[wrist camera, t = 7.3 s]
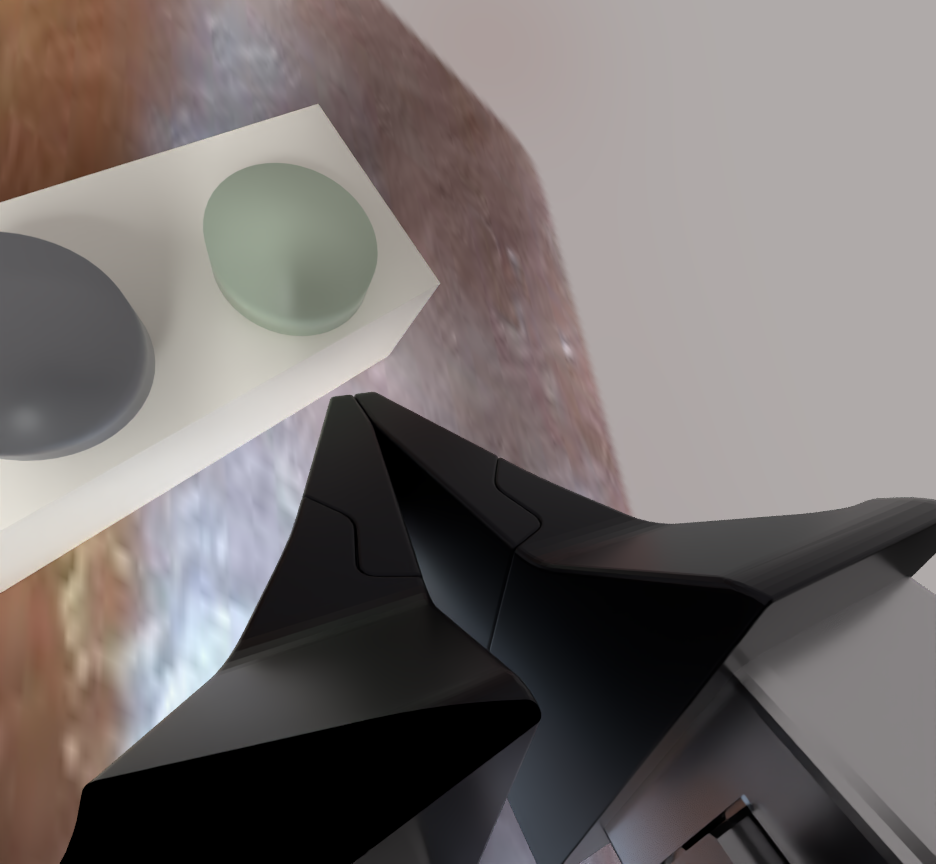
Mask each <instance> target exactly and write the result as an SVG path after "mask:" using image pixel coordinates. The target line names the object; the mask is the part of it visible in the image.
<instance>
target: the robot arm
mask: <svg viewBox="0 0 936 864" xmlns="http://www.w3.org/2000/svg"><path fill="white" fill-rule="evenodd" d="M935 553H936V500H934V499H926V498H914V497H910V498H909V497H904V498H903V497H901V498H877V499H872V500H868V501H865V502H863V503H860V504H857V505H855V506H851V507H848V508H842V509H837V510H830V511H823V512H816V513H806V514H797V515H783V516H771V517H757V518H746V519H732V520H719V521H707V522H693V523H680V524H664V523H655V522H649V521H645V520H641V519H637V518H635V517H632V516H629V515H627V514H624V513H622V512H619V511H617V510H615V509H612V508H610V507H608V506H605V505H603V504H600V503H598V502H596V501H593V500H591V499H589V498H586V497H584V496H582V495H579V494H577V493H574V492H572V491H570V490H567V489H565V488H563V487H560V486H558V485H556V484H554V483H551V482H549V481H547V480H545V479H542V478H540V477H538V476H536V475H534V474H532V473H530V472H528V471H526V470H524V469H522V468H520V467H518V466H516V465H514V464H512V463H510V462H508V461H506V460H504V459H502V458H499V459H498V456H496V455H494V454H493V453H491V452H489V451H487V450H485V449H483V448H481V447H479V446H477V445H475V444H473V443H472V442H470V441H468V440H466V439H464V438H462V437H460V436H458V435H456V434H454V433H452V432H451V431H449V430H447V429H445V428H443V427H441V426H439V425H437V424H435V423H433V422H431V421H429V420H428V419H426V418H424V417H422V416H420V415H418V414H416V413H414V412H412V411H410V410H408V409H407V408H405V407H403V406H401V405H399V404H397V403H395V402H393V401H391V400H389V399H387V398H386V397H384V396H382V395H380V394H378V393H376V392H368V393H360V394H356V395H354V397H353V396H352V395H344V396H335V397H332V398H331V399H330V402H329V405H328V409H327V412H326V416H325V420H324V423H323V427H322V430H321V434H320V437H319V441H318V444H317V448H316V451H315V455H314V458H313V462H312V465H311V469H310V472H309V476H308V479H307V483H306V486H305V490H304V493H303V497H302V500H301V503H300V506H299V510H298V513H297V516H296V519H295V522H294V525H293V528H292V531H291V534H290V537H289V539H288V541H287V543H286V546H285V548H284V550H283V552H282V555H281V557H280V559H279V561H278V563H277V565H276V567H275V570H274V572H273V574H272V576H271V578H270V580H269V582H268V584H267V586H266V588H265V590H264V592H263V594H262V596H261V598H260V600H259V602H258V604H257V606H256V608H255V610H254V612H253V614H252V616H251V618H250V620H249V622H248V624H247V626H246V628H245V630H244V632H243V634H242V636H241V638H240V639H239V641H238V643H237V645H236V647H235V648H234V650H233V652H232V653H231V655H230V656H229V658H228V659H227V661H226V662H225V663H224V665H223V666H222V667H221V668H220V669H219V671H218V672H217V673H216V674H215V675H214V676H213V677H212V678H211V679H210V680H209V681H208V682H206V683H205V684H204V685H203V686H202V687H201V688H199V689H198V690H197V691H196V692H195V693H194V694H192V695H191V696H190V697H189V698H188V699H187V700H185V701H184V702H183V703H182V704H181V705H180V706H178V707H177V708H176V709H175V710H174V711H173V712H171V713H170V714H169V715H168V716H167V717H166V718H164V719H163V720H162V721H161V722H160V723H159V724H157V725H156V726H155V727H154V728H153V729H152V730H150V731H149V732H148V733H147V734H146V735H145V736H143V737H142V738H141V739H140V740H139V741H138V742H137V743H135V744H134V745H133V746H132V747H131V748H130V749H128V750H127V751H126V752H125V753H124V754H123V755H121V756H120V757H119V758H118V759H117V760H116V761H114V762H113V763H112V764H111V765H110V766H109V767H107V768H106V769H105V770H104V771H103V772H102V773H100V774H99V775H98V776H97V777H96V778H94V779H93V780H92V781H91V782H89V783H88V784H87V785H86V786H85V787H84V788H83V790H82V795H81V800H80V806H79V811H78V817H77V821H76V825H75V828H74V832H73V835H72V837H71V840H70V842H69V845H68V848H67V850H66V853H65V855H64V856H63V858H62V860H61V862H60V864H478V863H479V861H480V859H481V856H482V854H483V852H484V849H485V847H486V845H487V842H488V840H489V838H490V835H491V833H492V831H493V828H494V826H495V824H496V822H497V819H498V817H499V815H500V812H501V810H502V808H503V805H504V803H505V801H506V798H507V799H508V801H509V803H510V806H511V808H512V810H513V812H514V814H515V817H516V819H517V821H518V823H519V825H520V828H521V830H522V832H523V834H524V836H525V839H526V841H527V843H528V845H529V848H530V850H531V852H532V854H533V856H534V859H535V861H536V863H537V864H579V863H580V862H582V861H583V860H585V859H586V858H588V857H589V856H591V855H592V854H594V853H595V852H597V851H598V850H600V849H601V848H603V847H604V846H606V845H607V844H609V843H611V845H612V847H613V849H614V850H615V852H616V854H617V856H618V858H619V860H620V862H621V864H936V595H935V594H934V593H932V592H931V591H930V590H928V589H927V588H925V587H924V586H922V585H921V584H920V583H918V582H917V581H915V580H914V579H912V578H911V577H912V576H913V575H914V574H915V573H916V572H917V571H918V570H919V569H920V568H921V567H922V566H923V565H924V564H925V563H926V562H927V561H928V560H929V559H930V558H931V557H932V556H933V555H934V554H935Z"/></svg>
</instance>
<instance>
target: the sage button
mask: <svg viewBox="0 0 936 864" xmlns="http://www.w3.org/2000/svg"><path fill="white" fill-rule="evenodd" d="M203 233H204V240H205V244H206V248H207V252H208V256H209V260H210V264H211V267H212V271H213V274H214V278H215V280H216V283H217V285H218V287H219V289H220V291H221V292H222V294H223V295H224V297H225V298H226V299H227V301H228V302H229V303H230V304H231V305H232V306H233V307H234V308H235V309H236V310H237V311H238V312H239V313H240V314H241V315H243V316H244V317H245V318H247V319H248V320H250V321H251V322H253V323H255V324H257V325H258V326H260V327H263V328H265V329H267V330H270V331H273V332H277V333H280V334H285V335H292V336H311V335H317V334H322V333H325V332H328V331H331V330H333V329H335V328H337V327H339V326H341V325H342V324H344V323H345V322H346V321H348V320H349V319H350V318H351V317H352V316H353V315H354V314H355V313H356V311H357V310H358V309H359V307H360V305H361V304H362V302H363V299H364V297H365V295H366V292H367V290H368V287H369V285H370V282H371V280H372V278H373V275H374V273H375V269H376V265H377V257H378V251H377V241H376V236H375V233H374V230H373V227H372V224H371V222H370V220H369V218H368V216H367V215H366V213H365V211H364V210H363V208H362V207H361V206H360V204H359V203H358V202H357V200H356V199H355V198H354V197H353V196H352V195H351V194H350V193H349V192H348V191H346V190H345V189H344V188H343V187H342V186H341V185H339V184H338V183H336V182H335V181H333V180H332V179H330V178H328V177H326V176H325V175H323V174H321V173H318V172H316V171H314V170H311V169H308V168H305V167H302V166H298V165H293V164H286V163H264V164H257V165H253V166H249V167H246V168H244V169H241V170H239V171H237V172H235V173H233V174H232V175H230V176H229V177H227V178H226V179H225V180H224V181H222V182H221V183H220V184H219V185H218V187H217V188H216V189H215V190H214V191H213V193H212V195H211V197H210V198H209V200H208V203H207V206H206V208H205V213H204V218H203Z"/></svg>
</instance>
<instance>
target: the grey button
mask: <svg viewBox="0 0 936 864" xmlns="http://www.w3.org/2000/svg"><path fill="white" fill-rule="evenodd" d="M154 374H155V355H154V348H153V345H152V342H151V338H150V336H149V334H148V332H147V330H146V327H145V326H144V324H143V323H142V321H141V320H140V318H139V317H138V315H137V314H136V312H135V311H134V309H133V308H132V307H131V305H130V304H129V302H128V301H127V299H126V298H125V296H124V295H123V294H122V292H121V291H120V289H119V288H118V287H117V286H116V285H115V283H114V282H113V281H112V280H111V279H110V278H109V277H108V276H107V275H106V274H105V273H104V272H103V271H101V270H100V269H99V268H98V267H97V266H95V265H94V264H92V263H91V262H90V261H88V260H87V259H85V258H84V257H82V256H80V255H78V254H76V253H75V252H73V251H71V250H69V249H67V248H64V247H62V246H60V245H57V244H55V243H52V242H49V241H46V240H43V239H39V238H36V237H31V236H27V235H22V234H16V233H8V232H0V459H5V460H18V461H34V460H46V459H54V458H59V457H64V456H68V455H72V454H75V453H78V452H81V451H84V450H87V449H89V448H91V447H94V446H96V445H98V444H100V443H102V442H104V441H105V440H107V439H109V438H110V437H112V436H113V435H115V434H116V433H117V432H119V431H120V430H121V429H122V428H124V427H125V426H126V425H127V424H128V423H129V422H130V421H131V420H132V419H133V418H134V417H135V416H136V414H137V413H138V412H139V410H140V409H141V408H142V406H143V405H144V403H145V401H146V399H147V397H148V395H149V393H150V390H151V387H152V384H153V380H154Z"/></svg>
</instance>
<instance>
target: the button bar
mask: <svg viewBox="0 0 936 864" xmlns="http://www.w3.org/2000/svg"><path fill="white" fill-rule="evenodd" d="M264 163H286V164H293V165H298V166H302V167H305V168H308V169H311V170H314V171H316V172H318V173H321V174H323V175H325V176H326V177H328V178H330V179H332V180H333V181H335V182H336V183H338V184H339V185H341V186H342V187H343V188H344V189H345V190H346V191H348V192H349V193H350V194H351V195H352V196H353V197H354V198H355V199H356V200H357V202H358V203H359V204H360V206H361V207H362V208H363V210H364V211H365V213H366V215H367V216H368V218H369V220H370V222H371V224H372V227H373V230H374V233H375V236H376V241H377V251H378V257H377V265H376V269H375V273H374V275H373V278H372V280H371V282H370V285H369V287H368V290H367V292H366V295H365V297H364V299H363V302H362V304H361V305H360V307H359V309H358V310H357V311H356V313H355V314H354V315H353V316H352V317H351V318H350V319H349V320H348V321H346V322H345V323H344V324H342V325H341V326H339V327H337V328H335V329H333V330H331V331H328V332H325V333H322V334H317V335H311V336H292V335H285V334H280V333H277V332H273V331H270V330H267V329H265V328H263V327H260V326H258V325H257V324H255V323H253V322H251V321H250V320H248V319H247V318H245V317H244V316H243V315H241V314H240V313H239V312H238V311H237V310H236V309H235V308H234V307H233V306H232V305H231V304H230V303H229V302H228V301H227V299H226V298H225V297H224V295H223V294H222V292H221V291H220V289H219V287H218V285H217V283H216V280H215V278H214V274H213V271H212V267H211V264H210V260H209V256H208V252H207V248H206V244H205V240H204V233H203V218H204V213H205V208H206V206H207V203H208V200H209V198H210V197H211V195H212V193H213V191H214V190H215V189H216V188H217V187H218V185H219V184H220V183H221V182H222V181H224V180H225V179H226V178H227V177H229V176H230V175H232V174H233V173H235V172H237V171H239V170H241V169H244V168H246V167H249V166H253V165H257V164H264ZM0 232H8V233H16V234H22V235H27V236H31V237H36V238H39V239H43V240H46V241H49V242H52V243H55V244H57V245H60V246H62V247H64V248H67V249H69V250H71V251H73V252H75V253H76V254H78V255H80V256H82V257H84V258H85V259H87V260H88V261H90V262H91V263H92V264H94V265H95V266H97V267H98V268H99V269H100V270H101V271H103V272H104V273H105V274H106V275H107V276H108V277H109V278H110V279H111V280H112V281H113V282H114V283H115V285H116V286H117V287H118V288H119V289H120V291H121V292H122V294H123V295H124V296H125V298H126V299H127V301H128V302H129V304H130V305H131V307H132V308H133V309H134V311H135V312H136V314H137V315H138V317H139V318H140V320H141V321H142V323H143V324H144V326H145V327H146V330H147V332H148V334H149V336H150V338H151V342H152V345H153V348H154V355H155V374H154V380H153V384H152V387H151V390H150V393H149V395H148V397H147V399H146V401H145V403H144V405H143V406H142V408H141V409H140V410H139V412H138V413H137V414H136V416H135V417H134V418H133V419H132V420H131V421H130V422H129V423H128V424H127V425H126V426H125V427H124V428H122V429H121V430H120V431H119V432H117V433H116V434H115V435H113V436H112V437H110V438H109V439H107V440H105V441H104V442H102V443H100V444H98V445H96V446H94V447H91V448H89V449H87V450H84V451H81V452H78V453H75V454H72V455H68V456H64V457H59V458H54V459H46V460H34V461H18V460H5V459H0V593H1V592H3V591H5V590H6V589H8V588H10V587H11V586H13V585H14V584H16V583H18V582H19V581H21V580H23V579H24V578H26V577H28V576H29V575H31V574H32V573H34V572H36V571H37V570H39V569H41V568H42V567H44V566H46V565H47V564H49V563H50V562H52V561H54V560H55V559H57V558H59V557H60V556H62V555H64V554H65V553H67V552H68V551H70V550H72V549H73V548H75V547H77V546H78V545H80V544H82V543H83V542H85V541H86V540H88V539H90V538H91V537H93V536H95V535H96V534H98V533H100V532H101V531H103V530H104V529H106V528H108V527H109V526H111V525H113V524H114V523H116V522H118V521H119V520H121V519H122V518H124V517H126V516H127V515H129V514H131V513H132V512H134V511H136V510H137V509H139V508H140V507H142V506H144V505H145V504H147V503H149V502H150V501H152V500H154V499H155V498H157V497H158V496H160V495H162V494H163V493H165V492H167V491H168V490H170V489H172V488H173V487H175V486H176V485H178V484H180V483H181V482H183V481H185V480H186V479H188V478H190V477H191V476H193V475H194V474H196V473H198V472H199V471H201V470H203V469H204V468H206V467H208V466H209V465H211V464H212V463H214V462H216V461H217V460H219V459H221V458H222V457H224V456H226V455H227V454H229V453H230V452H232V451H234V450H235V449H237V448H239V447H240V446H242V445H244V444H245V443H247V442H248V441H250V440H252V439H253V438H255V437H257V436H258V435H260V434H262V433H263V432H265V431H266V430H268V429H270V428H271V427H273V426H275V425H276V424H278V423H280V422H281V421H283V420H284V419H286V418H288V417H289V416H291V415H293V414H294V413H296V412H298V411H299V410H301V409H302V408H304V407H306V406H307V405H309V404H311V403H312V402H314V401H315V400H317V399H319V398H320V397H322V396H324V395H325V394H327V393H329V392H330V391H332V390H333V389H335V388H337V387H338V386H340V385H342V384H343V383H345V382H347V381H348V380H350V379H351V378H353V377H355V376H356V375H358V374H360V373H361V372H363V371H365V370H366V369H368V368H369V367H371V366H373V365H374V364H376V363H378V362H379V361H381V360H383V359H384V358H386V357H387V356H389V354H390V353H391V352H392V350H393V349H394V347H395V346H396V345H397V343H398V342H399V340H400V339H401V338H402V336H403V335H404V333H405V332H406V331H407V329H408V328H409V326H410V325H411V324H412V322H413V321H414V319H415V318H416V317H417V315H418V314H419V312H420V311H421V309H422V308H423V307H424V305H425V304H426V302H427V301H428V300H429V298H430V297H431V295H432V294H433V293H434V291H435V290H436V288H437V287H438V286H439V284H440V282H439V281H438V279H437V278H436V276H435V275H434V273H433V272H432V270H431V269H430V267H429V266H428V264H427V263H426V261H425V260H424V259H423V257H422V256H421V254H420V253H419V251H418V250H417V248H416V247H415V245H414V244H413V242H412V241H411V239H410V238H409V237H408V235H407V234H406V232H405V231H404V229H403V228H402V226H401V225H400V223H399V222H398V220H397V219H396V217H395V216H394V214H393V213H392V212H391V210H390V209H389V207H388V206H387V204H386V203H385V201H384V200H383V198H382V197H381V195H380V194H379V192H378V191H377V189H376V188H375V187H374V185H373V184H372V182H371V181H370V179H369V178H368V176H367V175H366V173H365V172H364V170H363V169H362V167H361V166H360V164H359V163H358V162H357V160H356V159H355V157H354V156H353V154H352V153H351V151H350V150H349V148H348V147H347V145H346V144H345V142H344V141H343V140H342V138H341V137H340V135H339V134H338V132H337V131H336V129H335V128H334V126H333V125H332V123H331V122H330V120H329V119H328V117H327V116H326V115H325V113H324V112H323V110H322V109H321V107H320V106H319V104H316V105H312V106H309V107H306V108H303V109H300V110H296V111H293V112H290V113H287V114H283V115H280V116H277V117H274V118H271V119H267V120H264V121H261V122H258V123H254V124H251V125H248V126H245V127H242V128H238V129H235V130H232V131H229V132H226V133H222V134H219V135H216V136H213V137H209V138H206V139H203V140H200V141H197V142H193V143H190V144H187V145H184V146H180V147H177V148H174V149H171V150H168V151H164V152H161V153H158V154H155V155H151V156H148V157H145V158H142V159H139V160H135V161H132V162H129V163H126V164H123V165H119V166H116V167H113V168H110V169H106V170H103V171H100V172H97V173H94V174H90V175H87V176H84V177H81V178H77V179H74V180H71V181H68V182H65V183H61V184H58V185H55V186H52V187H49V188H45V189H42V190H39V191H36V192H32V193H29V194H26V195H23V196H20V197H16V198H13V199H10V200H7V201H3V202H0Z"/></svg>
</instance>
